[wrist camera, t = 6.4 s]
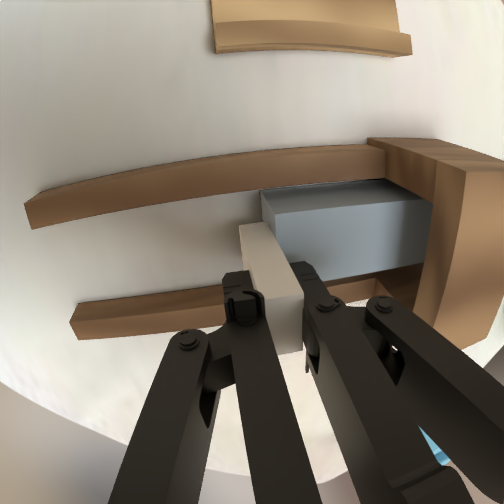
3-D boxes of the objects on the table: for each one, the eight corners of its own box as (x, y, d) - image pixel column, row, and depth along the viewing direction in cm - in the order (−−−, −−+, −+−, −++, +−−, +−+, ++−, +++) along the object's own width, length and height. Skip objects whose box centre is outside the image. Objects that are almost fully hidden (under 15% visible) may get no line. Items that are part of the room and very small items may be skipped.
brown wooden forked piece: (38, 186, 14) (-47, 247, 7) (437, 139, 16) (533, 173, 9) (88, 325, 19) (56, 418, 12) (421, 272, 21) (486, 338, 14)
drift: (264, 253, 18) (278, 288, 15) (260, 190, 17) (275, 214, 13) (430, 229, 19) (463, 253, 16) (436, 177, 18) (474, 195, 14)
